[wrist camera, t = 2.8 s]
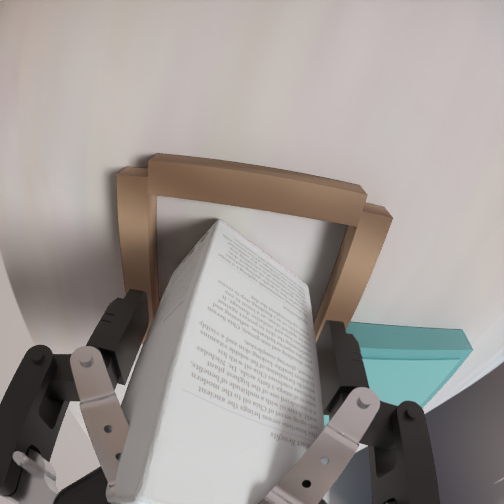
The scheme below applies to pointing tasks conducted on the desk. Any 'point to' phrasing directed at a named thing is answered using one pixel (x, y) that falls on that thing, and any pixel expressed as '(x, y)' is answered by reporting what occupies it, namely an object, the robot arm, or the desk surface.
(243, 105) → the desk surface
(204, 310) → the skincare box
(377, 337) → the tile
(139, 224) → the wooden square frame
